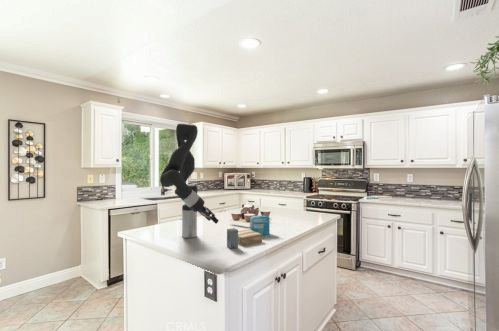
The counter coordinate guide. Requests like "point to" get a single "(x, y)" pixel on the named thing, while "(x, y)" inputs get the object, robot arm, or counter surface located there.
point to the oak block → (248, 237)
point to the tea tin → (232, 238)
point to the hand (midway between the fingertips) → (213, 220)
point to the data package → (260, 224)
